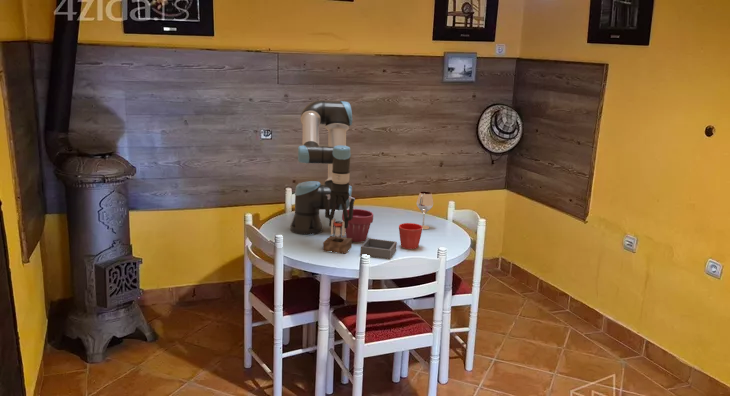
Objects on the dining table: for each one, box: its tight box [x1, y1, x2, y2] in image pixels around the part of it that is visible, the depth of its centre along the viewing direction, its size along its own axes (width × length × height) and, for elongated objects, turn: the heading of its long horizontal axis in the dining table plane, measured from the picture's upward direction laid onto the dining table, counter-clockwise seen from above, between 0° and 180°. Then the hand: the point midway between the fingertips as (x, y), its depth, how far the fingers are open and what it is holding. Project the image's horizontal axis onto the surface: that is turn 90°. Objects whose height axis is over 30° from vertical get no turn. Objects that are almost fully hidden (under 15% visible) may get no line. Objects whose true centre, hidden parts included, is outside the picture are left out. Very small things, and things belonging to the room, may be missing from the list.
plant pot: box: [341, 208, 374, 243], centre depth 280 cm, size 14×14×13 cm
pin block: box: [322, 235, 353, 255], centre depth 266 cm, size 10×10×4 cm
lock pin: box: [334, 220, 343, 242], centre depth 265 cm, size 4×4×11 cm
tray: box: [359, 237, 398, 260], centre depth 264 cm, size 13×13×4 cm
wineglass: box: [416, 191, 434, 230], centre depth 304 cm, size 8×8×18 cm
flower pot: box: [398, 222, 423, 250], centre depth 274 cm, size 11×11×10 cm
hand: (338, 234), depth 265 cm, fingers closed on lock pin, 4 cm apart
